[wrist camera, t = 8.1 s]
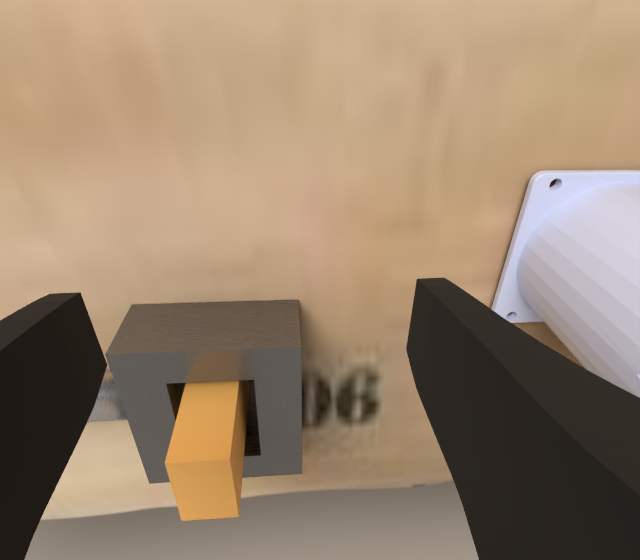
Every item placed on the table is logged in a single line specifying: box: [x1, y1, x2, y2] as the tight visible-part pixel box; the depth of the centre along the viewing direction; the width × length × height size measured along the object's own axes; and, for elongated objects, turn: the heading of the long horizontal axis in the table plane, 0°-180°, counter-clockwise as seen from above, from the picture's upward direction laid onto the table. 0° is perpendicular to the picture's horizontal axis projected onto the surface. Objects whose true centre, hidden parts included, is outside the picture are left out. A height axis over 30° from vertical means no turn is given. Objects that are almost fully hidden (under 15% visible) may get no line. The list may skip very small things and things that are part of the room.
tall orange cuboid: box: [165, 380, 249, 521], centre depth 19 cm, size 2×4×7 cm, turn 179°
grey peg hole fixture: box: [87, 300, 302, 483], centre depth 21 cm, size 16×9×4 cm, turn 89°
